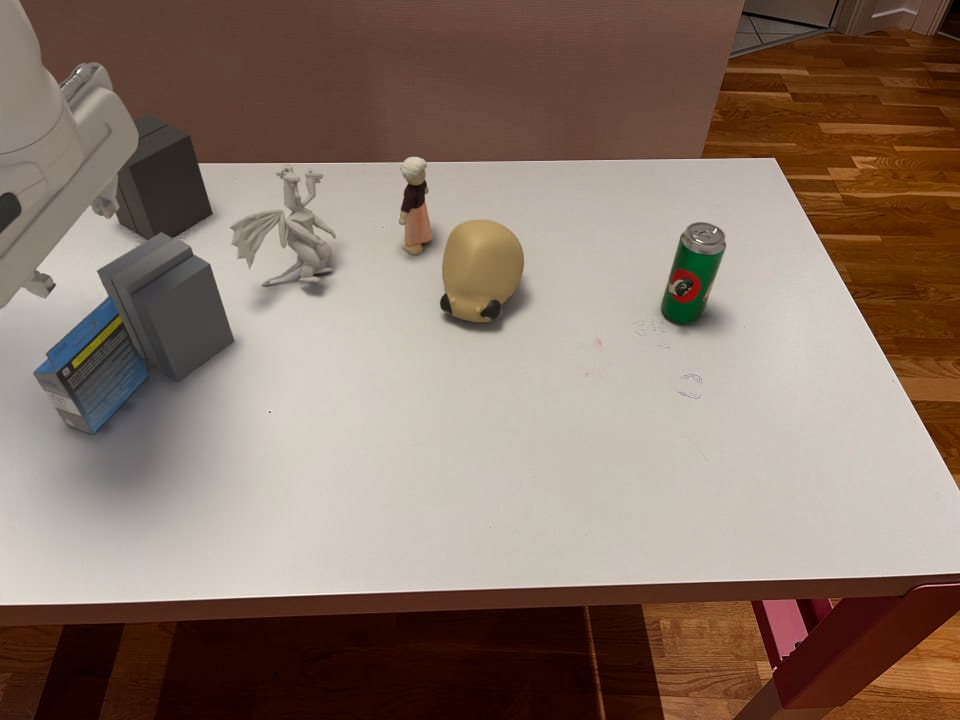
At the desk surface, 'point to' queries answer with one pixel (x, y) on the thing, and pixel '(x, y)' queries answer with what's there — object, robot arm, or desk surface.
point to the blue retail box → (92, 369)
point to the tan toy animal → (480, 270)
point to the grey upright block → (168, 304)
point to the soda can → (693, 272)
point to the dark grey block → (161, 182)
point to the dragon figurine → (288, 229)
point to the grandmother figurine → (415, 206)
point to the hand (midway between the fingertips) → (76, 249)
